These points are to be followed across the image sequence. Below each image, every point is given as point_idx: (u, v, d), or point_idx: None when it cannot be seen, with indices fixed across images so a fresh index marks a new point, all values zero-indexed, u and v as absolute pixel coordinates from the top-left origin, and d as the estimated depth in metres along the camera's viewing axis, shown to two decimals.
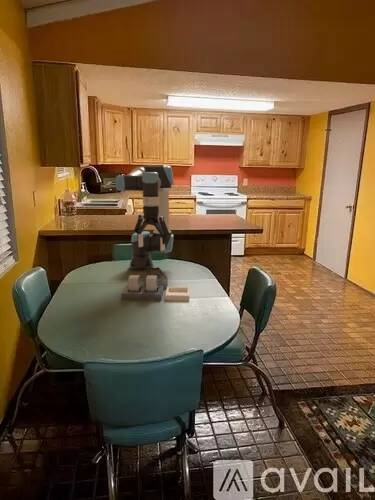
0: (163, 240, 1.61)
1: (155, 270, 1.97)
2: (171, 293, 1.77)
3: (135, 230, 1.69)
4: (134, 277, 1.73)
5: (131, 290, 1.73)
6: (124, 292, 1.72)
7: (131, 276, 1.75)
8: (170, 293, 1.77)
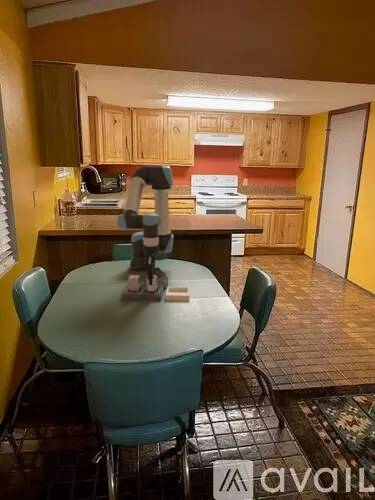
0: (149, 281, 1.70)
1: (155, 270, 1.97)
2: (171, 293, 1.77)
3: None
4: (134, 277, 1.73)
5: (131, 290, 1.73)
6: (124, 292, 1.72)
7: (131, 276, 1.75)
8: (170, 293, 1.77)
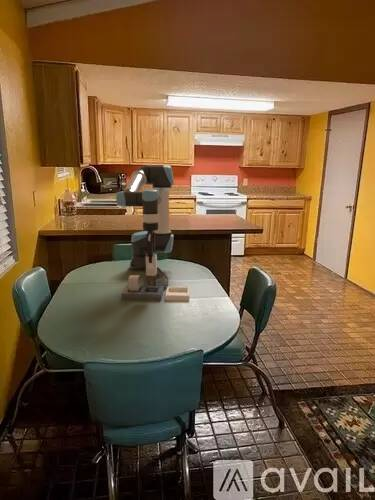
0: (148, 259, 1.68)
1: None
2: (171, 293, 1.77)
3: None
4: (134, 277, 1.73)
5: (131, 290, 1.73)
6: (124, 292, 1.72)
7: (131, 276, 1.75)
8: (170, 293, 1.77)
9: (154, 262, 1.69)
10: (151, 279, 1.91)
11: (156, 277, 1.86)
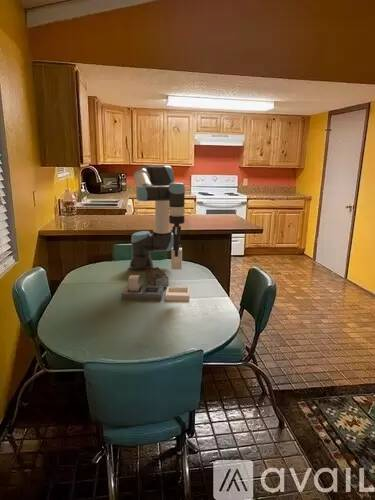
0: (174, 252, 1.66)
1: (155, 270, 1.97)
2: (171, 293, 1.77)
3: None
4: (134, 277, 1.73)
5: (131, 290, 1.73)
6: (124, 292, 1.72)
7: (131, 276, 1.75)
8: (170, 293, 1.77)
9: (180, 256, 1.68)
10: (151, 279, 1.91)
11: (156, 277, 1.86)
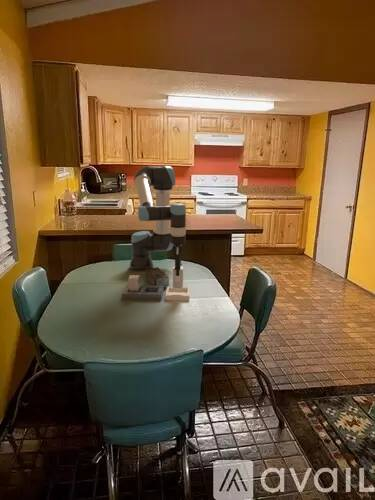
0: (176, 272, 1.69)
1: (155, 270, 1.97)
2: (171, 293, 1.77)
3: None
4: (134, 277, 1.73)
5: (131, 290, 1.73)
6: (124, 292, 1.72)
7: (131, 276, 1.75)
8: (170, 293, 1.77)
9: (181, 275, 1.70)
10: (151, 279, 1.91)
11: (157, 277, 1.86)
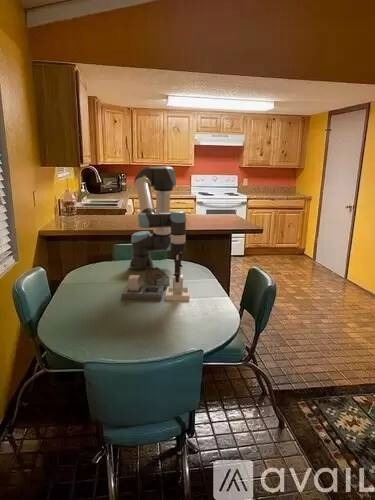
0: (175, 278, 1.66)
1: (155, 270, 1.97)
2: (171, 293, 1.77)
3: None
4: (134, 277, 1.73)
5: (131, 290, 1.73)
6: (124, 292, 1.72)
7: (131, 276, 1.75)
8: (170, 293, 1.77)
9: (181, 283, 1.72)
10: (152, 279, 1.91)
11: (157, 277, 1.86)
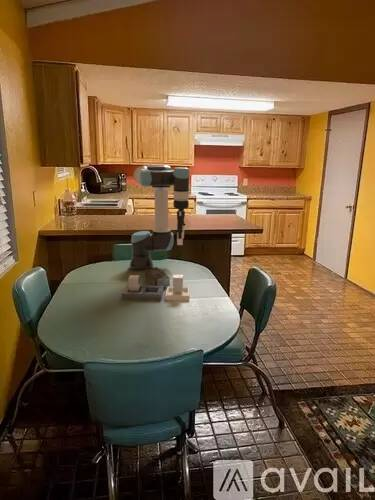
0: (178, 235, 1.64)
1: (155, 270, 1.97)
2: (171, 293, 1.77)
3: None
4: (134, 277, 1.73)
5: (131, 290, 1.73)
6: (124, 292, 1.72)
7: (131, 276, 1.75)
8: (170, 293, 1.77)
9: (181, 283, 1.72)
10: (152, 279, 1.91)
11: (157, 277, 1.87)
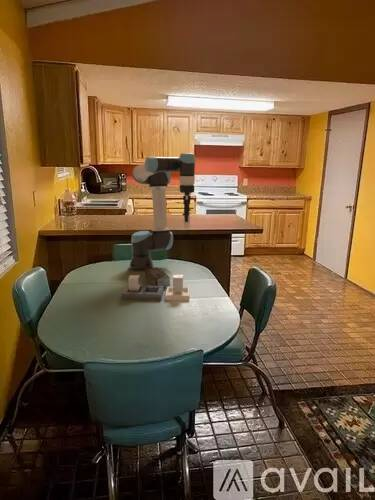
0: (185, 218, 1.70)
1: (155, 270, 1.97)
2: (171, 293, 1.77)
3: None
4: (134, 277, 1.73)
5: (131, 290, 1.73)
6: (124, 292, 1.72)
7: (131, 276, 1.75)
8: (170, 293, 1.77)
9: (181, 283, 1.72)
10: (152, 279, 1.91)
11: (158, 277, 1.87)
